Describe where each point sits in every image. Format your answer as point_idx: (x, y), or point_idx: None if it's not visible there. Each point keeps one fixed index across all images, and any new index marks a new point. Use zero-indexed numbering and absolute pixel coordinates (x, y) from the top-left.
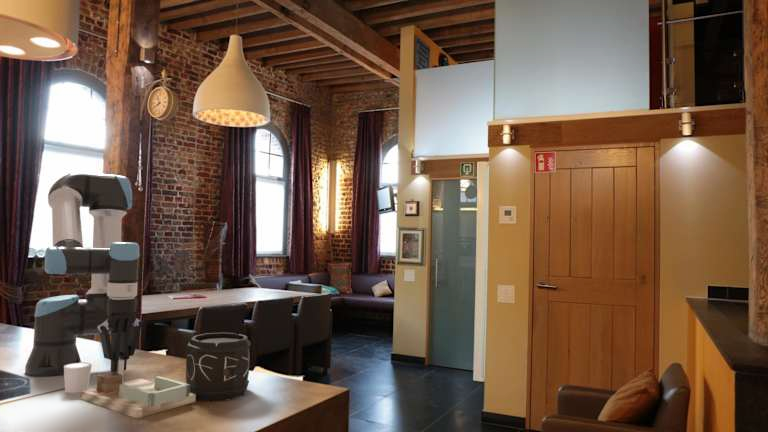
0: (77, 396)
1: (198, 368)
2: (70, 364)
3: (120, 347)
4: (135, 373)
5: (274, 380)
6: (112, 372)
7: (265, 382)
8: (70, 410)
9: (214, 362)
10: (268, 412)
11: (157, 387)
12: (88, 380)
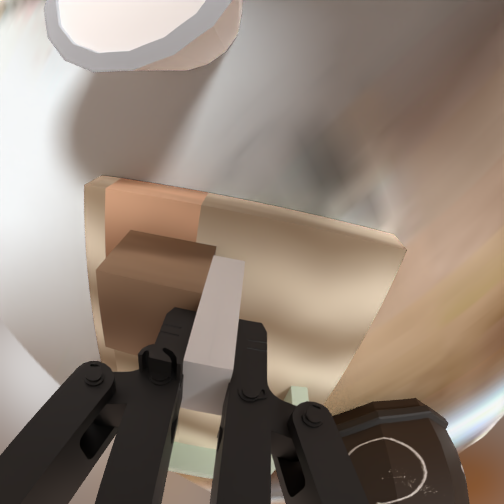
0: (113, 125)
1: None
2: None
3: (217, 474)
4: None
5: (465, 435)
6: (191, 298)
7: (452, 437)
8: (31, 259)
9: None
10: (281, 496)
11: (285, 400)
12: (204, 57)
